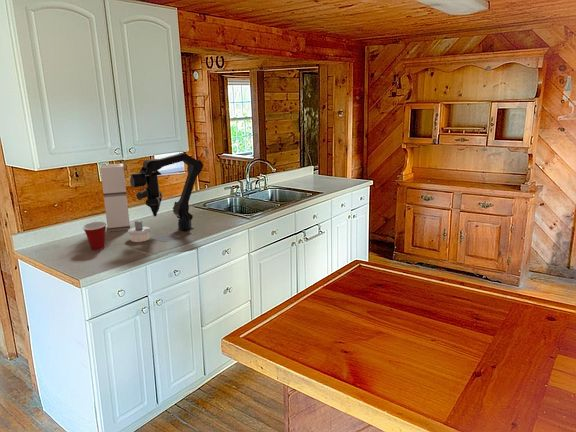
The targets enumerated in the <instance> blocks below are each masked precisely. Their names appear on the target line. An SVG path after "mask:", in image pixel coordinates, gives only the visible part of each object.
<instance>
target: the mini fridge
mask: <svg viewBox="0 0 576 432" xmlns="http://www.w3.org/2000/svg"><path fill="white" fill-rule="evenodd" d="M99 169H100V175H101V177H100V178H101V184H102V191H103V192H102V193H103V200H104V201H103V202H104V203H103V204H104V210H105V217H106V218H105V219H106V228H107V232H108V233H109V232H110V233H112V232H118V231H128V230H129V229H131V225H130V215H129V207H128V196H127V186H126V180H125V179H126V178H125V177H126V176H125V170H124V163H115V164H113V163H112V164H100V168H99ZM111 231H112V232H111Z"/></svg>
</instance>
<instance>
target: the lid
mask: <svg viewBox="0 0 576 432" xmlns="http://www.w3.org/2000/svg"><path fill="white" fill-rule="evenodd" d="M151 230H152V229H151V227H148V226H143V220H142V219H141V220H140V219H139V220H135V221H134V227H132V228H131V227H130V229H129V230H127V233H128V234H129V235H130V234H134V235H136V234H144V233H148V232H149V233H150V232H151Z"/></svg>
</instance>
